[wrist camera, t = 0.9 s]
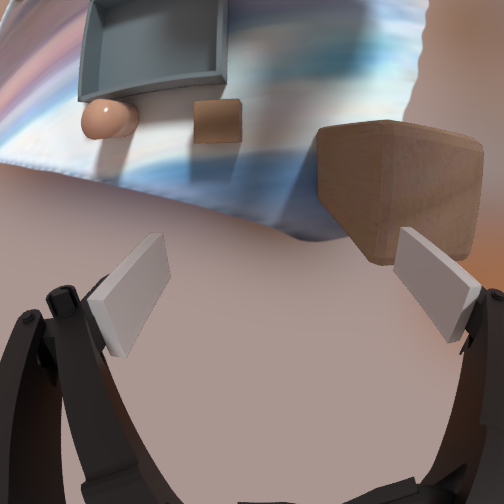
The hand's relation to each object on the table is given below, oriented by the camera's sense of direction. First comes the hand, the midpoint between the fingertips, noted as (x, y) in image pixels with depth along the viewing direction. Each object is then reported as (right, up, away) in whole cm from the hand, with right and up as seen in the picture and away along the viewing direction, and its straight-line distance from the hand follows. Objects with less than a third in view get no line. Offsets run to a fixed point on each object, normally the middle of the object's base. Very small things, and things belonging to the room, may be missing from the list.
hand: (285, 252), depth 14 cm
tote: (-15, +29, +12) cm, 35 cm away
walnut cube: (-6, +16, +17) cm, 25 cm away
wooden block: (+11, +12, +19) cm, 25 cm away
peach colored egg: (-20, +18, +17) cm, 32 cm away
